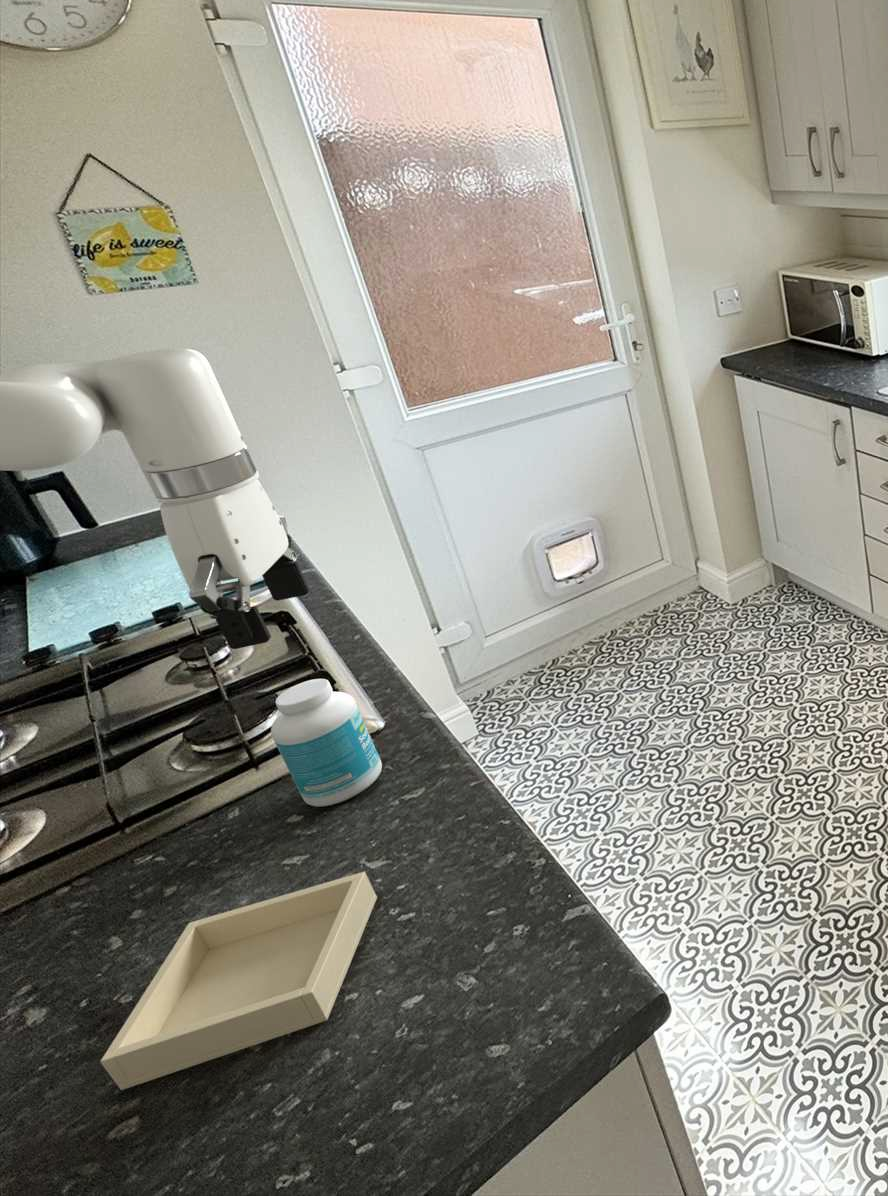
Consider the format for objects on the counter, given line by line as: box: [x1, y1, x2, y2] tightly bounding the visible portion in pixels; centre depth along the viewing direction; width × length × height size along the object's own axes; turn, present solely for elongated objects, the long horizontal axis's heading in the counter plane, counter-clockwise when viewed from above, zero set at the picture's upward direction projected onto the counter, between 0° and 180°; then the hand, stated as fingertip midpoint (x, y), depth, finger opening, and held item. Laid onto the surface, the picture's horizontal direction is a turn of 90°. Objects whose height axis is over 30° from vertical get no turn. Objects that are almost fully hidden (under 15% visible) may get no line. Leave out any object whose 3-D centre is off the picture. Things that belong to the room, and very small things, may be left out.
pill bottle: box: [270, 678, 383, 807], centre depth 89 cm, size 8×7×14 cm
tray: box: [100, 871, 378, 1091], centre depth 69 cm, size 14×13×4 cm
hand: (273, 619), depth 84 cm, fingers open, 9 cm apart
